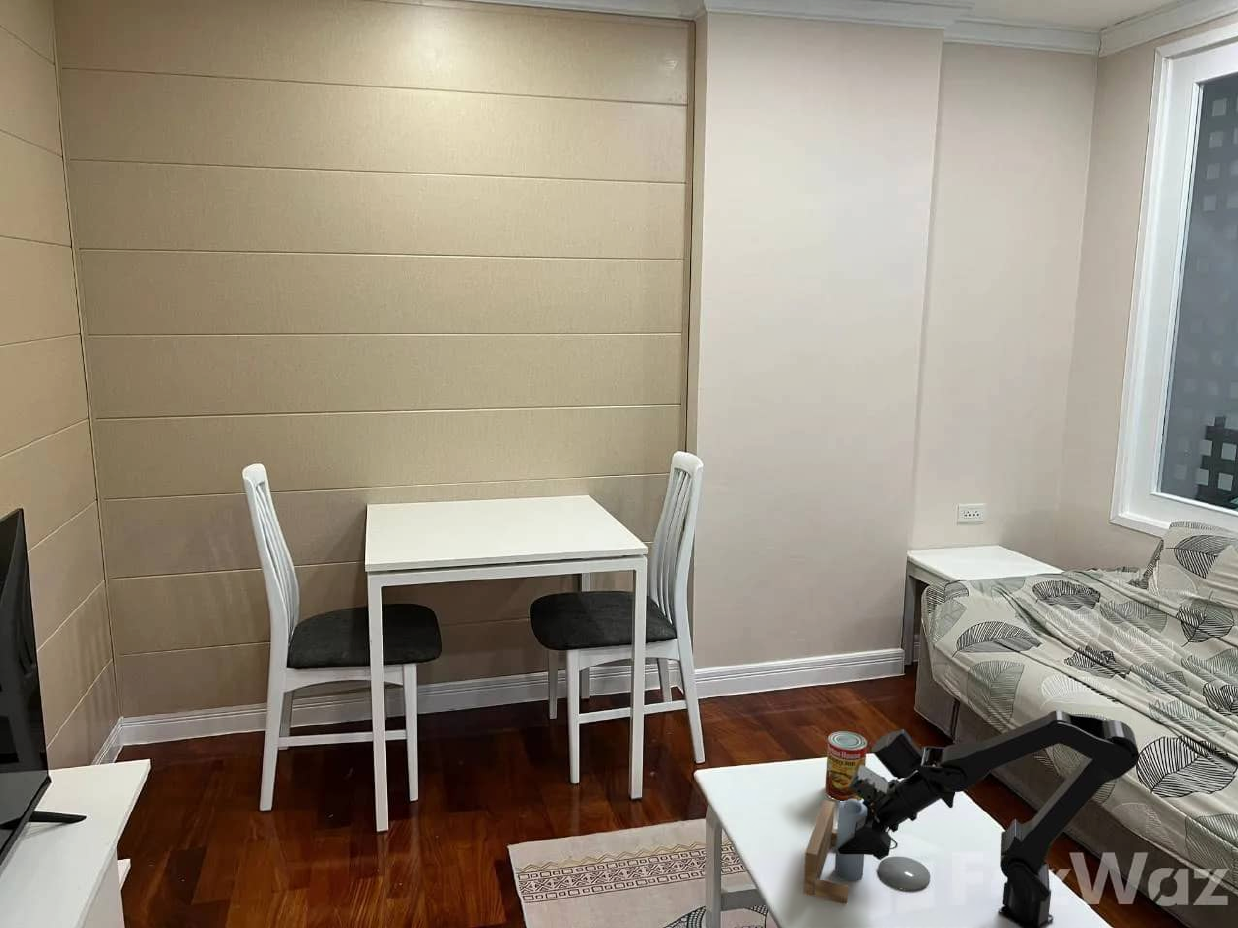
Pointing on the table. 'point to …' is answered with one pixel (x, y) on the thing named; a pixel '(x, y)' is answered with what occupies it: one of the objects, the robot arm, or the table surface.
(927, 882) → the coaster
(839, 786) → the canned food
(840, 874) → the pepper mill
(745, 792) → the table surface
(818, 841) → the walnut bench
